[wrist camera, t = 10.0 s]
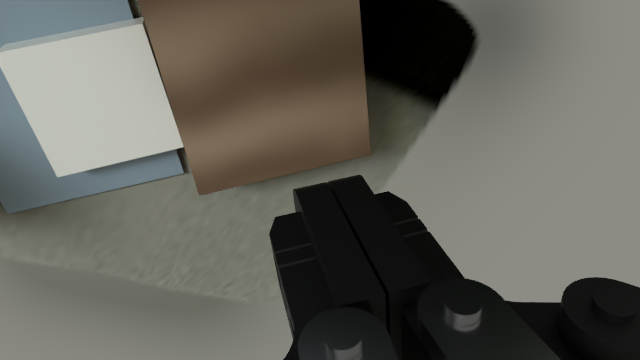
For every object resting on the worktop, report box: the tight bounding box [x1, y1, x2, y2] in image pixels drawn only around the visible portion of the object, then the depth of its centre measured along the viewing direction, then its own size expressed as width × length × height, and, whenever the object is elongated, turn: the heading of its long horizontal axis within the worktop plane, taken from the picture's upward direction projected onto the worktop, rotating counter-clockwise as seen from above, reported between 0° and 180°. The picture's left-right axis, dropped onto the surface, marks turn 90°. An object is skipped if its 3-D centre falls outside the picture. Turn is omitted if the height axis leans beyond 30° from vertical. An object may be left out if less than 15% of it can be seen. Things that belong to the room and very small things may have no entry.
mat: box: [0, 0, 184, 214], centre depth 29 cm, size 16×12×1 cm
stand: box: [138, 0, 371, 196], centre depth 30 cm, size 14×12×4 cm
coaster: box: [0, 17, 184, 177], centre depth 29 cm, size 8×8×2 cm
